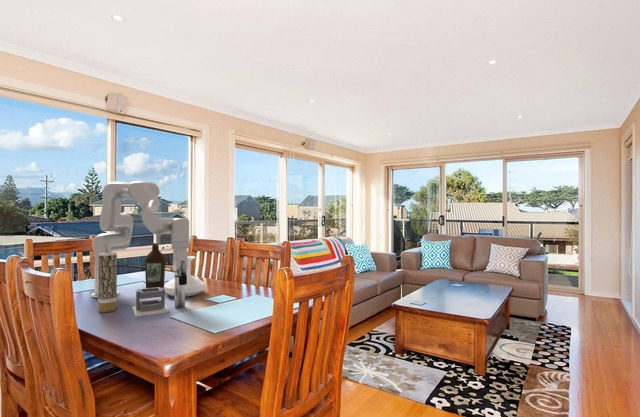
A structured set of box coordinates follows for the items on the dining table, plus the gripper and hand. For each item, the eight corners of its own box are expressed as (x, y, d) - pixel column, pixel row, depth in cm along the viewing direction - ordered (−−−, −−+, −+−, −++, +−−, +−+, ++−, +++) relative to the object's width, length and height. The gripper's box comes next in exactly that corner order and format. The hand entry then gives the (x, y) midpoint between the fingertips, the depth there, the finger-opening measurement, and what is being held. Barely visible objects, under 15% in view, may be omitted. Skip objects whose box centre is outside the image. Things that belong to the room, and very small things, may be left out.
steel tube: (173, 306, 163) (173, 269, 163) (183, 305, 165) (184, 268, 165) (175, 309, 159) (175, 271, 159) (186, 307, 161) (186, 270, 161)
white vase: (155, 295, 183) (155, 258, 183) (188, 288, 200) (188, 254, 200) (180, 301, 172) (180, 261, 172) (212, 293, 189) (213, 256, 189)
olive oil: (146, 286, 204) (147, 242, 204) (166, 285, 207) (167, 242, 207) (142, 290, 194) (143, 244, 194) (163, 289, 197) (163, 244, 197)
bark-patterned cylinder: (108, 313, 152) (108, 254, 152) (94, 312, 153) (94, 254, 153) (120, 309, 158) (120, 252, 158) (106, 308, 160) (107, 252, 160)
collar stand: (132, 309, 159) (132, 288, 159) (164, 304, 166) (164, 285, 166) (135, 316, 148) (135, 294, 148) (169, 311, 155) (169, 291, 155)
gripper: (168, 244, 167) (168, 280, 167) (175, 247, 153) (175, 287, 153) (185, 243, 171) (185, 279, 171) (193, 246, 157) (193, 285, 157)
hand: (180, 282), depth 162 cm, fingers open, 9 cm apart
